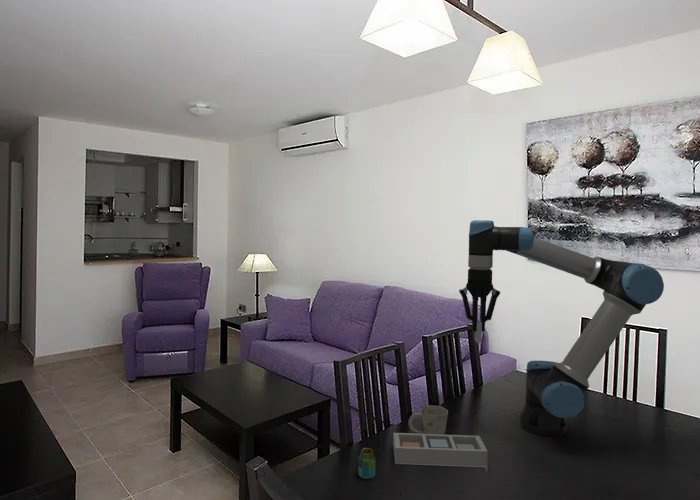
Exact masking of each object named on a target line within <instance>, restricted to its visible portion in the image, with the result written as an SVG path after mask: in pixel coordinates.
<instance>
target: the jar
mask: <svg viewBox="0 0 700 500" xmlns="http://www.w3.org/2000/svg"><path fill="white" fill-rule="evenodd" d="M374 453H375V452H374V449H372V448H369V447H363V448H362V449H360V454H359V456H358V461H357V463H358V465H357V466H358V477H360V478H361V479H364V480H365V479H366V480H368V479H372V478H374V477H375V475H376V463H377V461H376V456H375V454H374Z"/></svg>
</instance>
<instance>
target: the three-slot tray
mask: <svg viewBox="0 0 700 500" xmlns="http://www.w3.org/2000/svg"><path fill="white" fill-rule="evenodd" d="M429 439H443V440H446V441H447V444H448V447H449V448H429ZM392 440H393V442H392V447H393V448H392V449H393V457H394V464H395V465H414V466H415V465H416V466H417V465H419V466H439V467H443V466H444V467H466V468H467V467H469V468H484V470H485V472H486V473H488V472H489V471H488V470H489V468H488V467H489V466H488V455H489V454H488V453H489V451H488V449H487V448H486V446H485V444H484V442H483V440H482V438H481V435H468V434H464V435H463V434H445V435H441V434H418V433H415V432H414V433H412V432H411V433H409V432H408V433H406V432H393V439H392ZM402 442H419V445H420V447H402ZM456 444H472V445H473V446H474V448H475V449H457V448H456Z"/></svg>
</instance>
